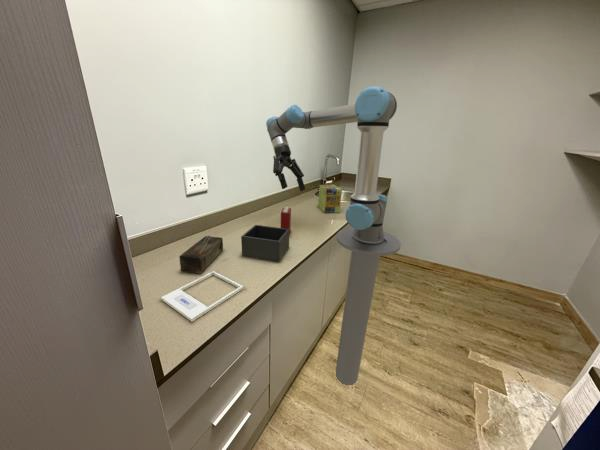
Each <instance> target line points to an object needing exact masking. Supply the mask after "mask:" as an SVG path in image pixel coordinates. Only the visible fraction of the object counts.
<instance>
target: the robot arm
mask: <svg viewBox="0 0 600 450" xmlns="http://www.w3.org/2000/svg"><path fill="white" fill-rule="evenodd" d="M397 108H398V102H397V99H396V97H395V95H393V94H392V93H391V92H389V91H388V90H387V89H386V88H384V87H382V86H378V85H372V86H368V87H366V88H364V89H363V90H362V91H361V92H360V93H359V94H358V96H357V97H356V100H355V103H353V104H352V103H351V104H346V105H340V106H334V107H328V108H322V109H316V110H315V109H314V110H310V111H303V109H302V108H301V107H300V106H298V104H292V105H291V106H290V107H288V108H287V109H286V110H285V111H284V112H283V113H282V114H281V115H279V116H272V117H269V118H267V120H266V122H265V125H266V130H267V134H268V136H269V139H270V142H271V146H272V148H273V152H274V155H273V156H272V158H273V168H272V173H273V174H274V175H275V177H277V178H278V181H279V183H280V187H281V189H282V190H284V189H286V188H288V183H287V180H286V177H285V173H284V172H283V171H284V168H287V169H288V170H290V171H291V173H292V174H293V175H294V176H295V178H296V181H297V185H298V188H299V192H303V191H304V190H306V186H305V183H304V180H303V177H305V175H304V173H303V171H302V169H301V168H300V166H299V165H298V163H297V161H296V159H295V158H292V157H291V155H292V151H291V148H290V146H289V141H288V139H287V136H286V134H287V133H288V132H289V131H291V130H292V129H293V128H294V129H304V130H311V129H312V128H320V127H329V126H336V125H337V126H338V125H346V124H355V123H357V124H356V125H357V126H356V128H357V129H358V130H359V133H360V135H359V145H358V155H357V165H356V174H355V175H356V176H355V185H354V186H355V187H354V192H353V193H351V195H350V200H349V206H347V209H346V210H345V213H344V214H345V215H344V216H345V220H346V222H347V224H348V225H349V226H350V228H352V227H353V228H354V232H353V235H352V237H353V239H354V240H356V241H357V242H360V243H363V244H368V245H378V244H382V243H383V242H384V241H385V242H387V241H386V240H385V239H384V233H383V231H384V228H383V225H384V219H385V215H386V208H387V204H388V197H387V195H385V194H381V193H377V187H378V179H379V172H380V164H381V163H380V162H381V157H382V155H381V154H382V148H383V140H384V133H385V131H387V130H388V128H389V126H390V120H391V119H392V118H393V117H394V116H395V114H396V112H397Z"/></svg>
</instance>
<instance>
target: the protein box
mask: <svg viewBox="0 0 600 450" xmlns="http://www.w3.org/2000/svg"><path fill="white" fill-rule="evenodd" d="M318 188H319V189H318V201H317V202H318V203H317V207H318V208H319V209H320V210H321V211H322V212H323V213H324V214H335V213H337V214H339V213H340V210H341V202H342V201H341V200H342V192H343V189H342V188H341V187H339V186H338V185H335V184H322V183H321V184H319V187H318Z"/></svg>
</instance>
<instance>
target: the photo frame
mask: <svg viewBox="0 0 600 450" xmlns="http://www.w3.org/2000/svg"><path fill="white" fill-rule="evenodd" d="M212 276H215V277H217V278H219V279H220V280H223V281H224V282H226V283H228V284H229V285H232V286H234V287H236V289H234V290H232V291H231V292H229V293H228V294H226V295H224V296H222V297H221V298H219V299H218V300H217V301H215V302H213V303H211V304H210V305H208V306H207V305H206V304H204V303H202V302H201V301H199V300H198V299H196V298H194V297H193V296H191V295H190V294H188V293H186V292H185V290H187V289H189V288H191V287H192V286H194V285H197V284H199V283H200V282H202V281H204V280H206V279H208V278H210V277H212ZM242 290H244V285H242V284H240V283H238V282H236V281H234V280H232V279H230V278H228V277H226V276H224V275H223V274H220V273H218V272H216V271H214V270H213V271H210V272H209V273H207V274H205V275H202V276H201V277H199V278H197V279H195V280H192V281H191V282H188V283H187V284H184V285H183V286H181V287H179V288H177V289H174V290H173V291H171V292H168V293H166V294H164V295H163V296H161V297H160V298H161V299H160V300H161V301H162V302H164V303H165V304H166V305H168V306H169V307H171V308H172V309H173V310H175V311H176V312H178V313H179V314H180V315H182V316H183V317H184V318H186V319H187V320H189V321H190V322H191V323H193V322H194V321H196V320H198V319H199V318H201V317H202V316H204V315H205V314H207V313H208V312H210V311H211V310H213V309H214V308H216V307H218V306H219V305H221V304H222V303H224V302H225V301H227V300H228V299H230V298H232V297H233V296H234V295H236V294H238V293H239V292H241V291H242Z"/></svg>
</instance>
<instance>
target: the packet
mask: <svg viewBox="0 0 600 450" xmlns="http://www.w3.org/2000/svg"><path fill="white" fill-rule="evenodd" d="M280 211H281V212H280V228H285V229H289V236H290V234H291V225H292V208H291V207H290V206H284V207H283V208H282V209H281V210H280Z"/></svg>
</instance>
